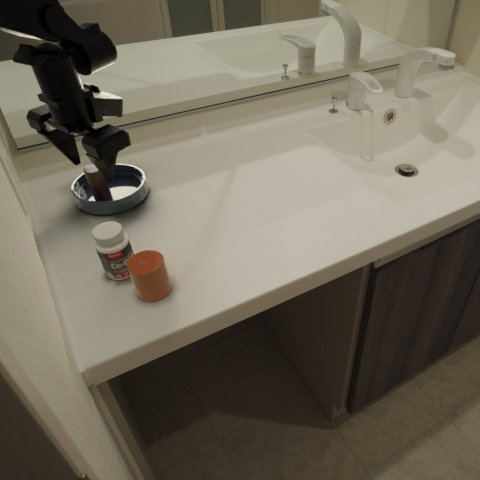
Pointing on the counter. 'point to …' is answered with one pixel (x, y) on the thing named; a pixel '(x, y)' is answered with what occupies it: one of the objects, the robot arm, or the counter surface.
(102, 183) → the brown cylinder
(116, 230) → the pill bottle
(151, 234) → the counter surface
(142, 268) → the orange cylinder cap
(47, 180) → the counter surface
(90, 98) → the robot arm
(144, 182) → the bowl
